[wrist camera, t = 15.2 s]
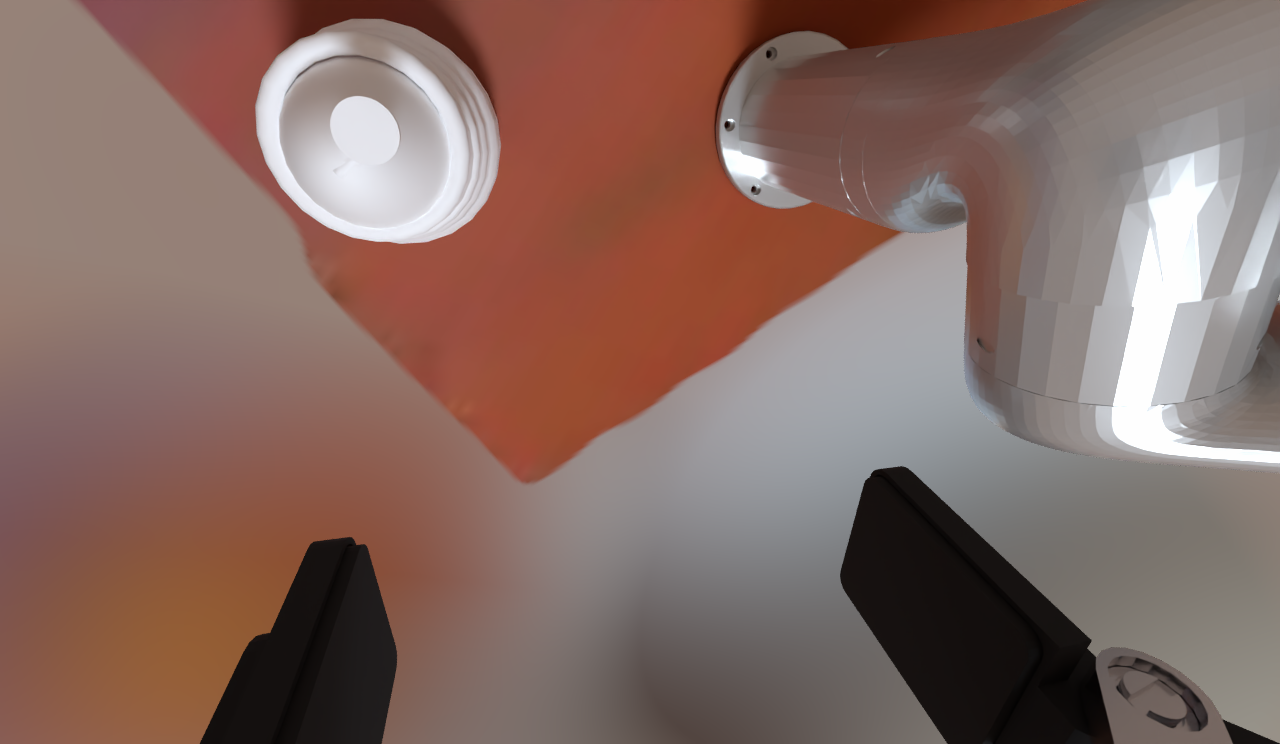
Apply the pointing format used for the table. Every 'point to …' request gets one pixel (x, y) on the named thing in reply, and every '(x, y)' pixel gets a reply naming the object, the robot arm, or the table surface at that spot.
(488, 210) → the table surface
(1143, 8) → the robot arm
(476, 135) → the honey pot
